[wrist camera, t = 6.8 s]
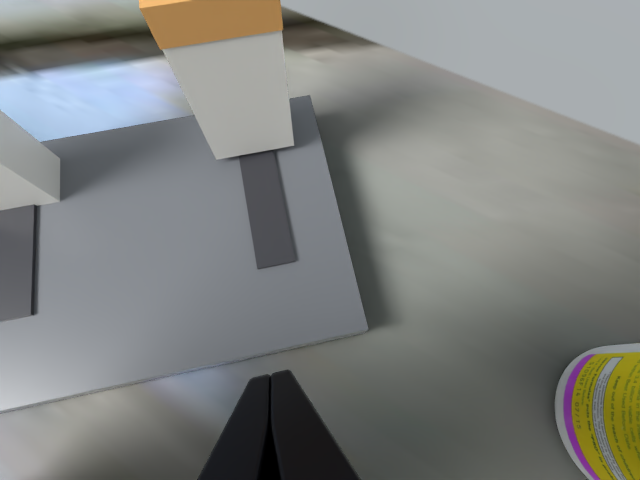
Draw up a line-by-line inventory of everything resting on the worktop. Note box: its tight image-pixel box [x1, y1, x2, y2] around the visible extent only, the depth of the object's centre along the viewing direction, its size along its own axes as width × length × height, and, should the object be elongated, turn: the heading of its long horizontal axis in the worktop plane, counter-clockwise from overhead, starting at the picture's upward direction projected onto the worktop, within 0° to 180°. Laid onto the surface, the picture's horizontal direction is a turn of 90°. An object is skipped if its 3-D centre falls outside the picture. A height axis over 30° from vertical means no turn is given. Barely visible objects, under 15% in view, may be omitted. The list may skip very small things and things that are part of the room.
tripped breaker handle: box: [139, 0, 294, 160], centre depth 16 cm, size 3×4×8 cm, turn 102°
